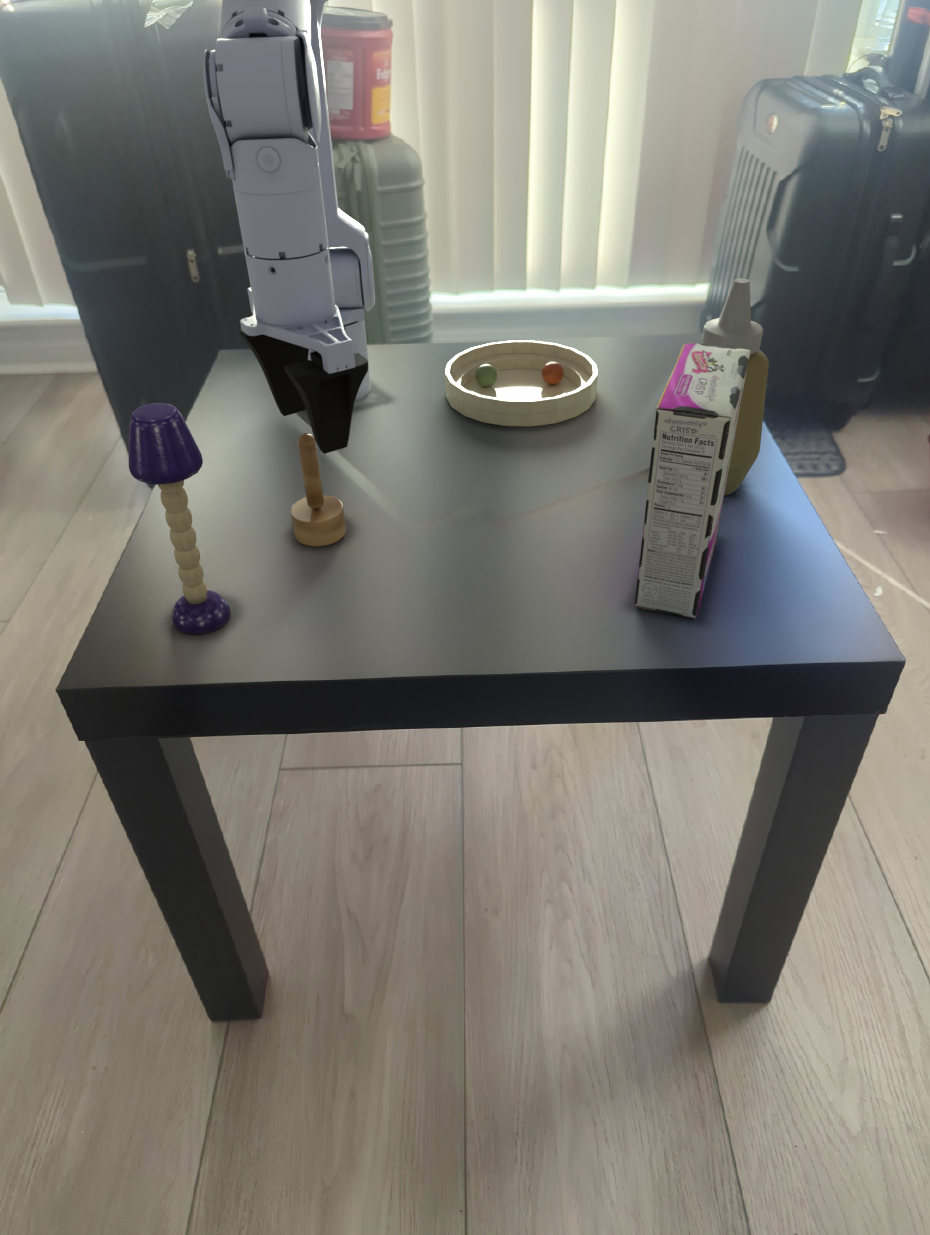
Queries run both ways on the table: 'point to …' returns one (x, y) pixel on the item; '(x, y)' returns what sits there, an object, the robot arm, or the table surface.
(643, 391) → the table surface
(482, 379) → the green bead
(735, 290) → the squeeze bottle
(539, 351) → the bowl
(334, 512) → the wooden knob stamp
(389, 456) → the table surface
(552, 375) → the orange bead
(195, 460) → the toy lamp
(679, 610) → the candy bar box
